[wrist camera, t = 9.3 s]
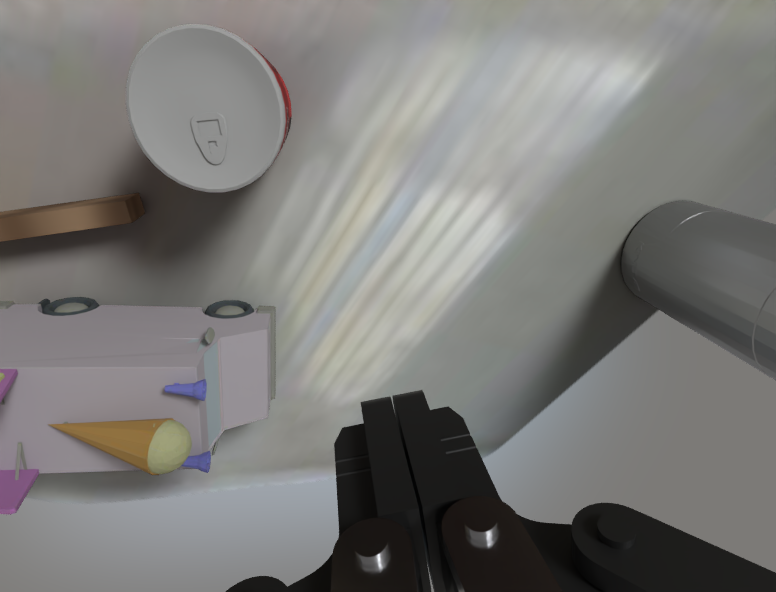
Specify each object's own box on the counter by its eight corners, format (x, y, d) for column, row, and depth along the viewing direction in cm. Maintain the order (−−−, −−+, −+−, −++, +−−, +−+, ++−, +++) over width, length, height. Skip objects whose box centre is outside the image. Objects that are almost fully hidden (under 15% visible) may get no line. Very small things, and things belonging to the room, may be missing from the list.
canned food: (213, 183, 37) (176, 216, 26) (155, 70, 33) (87, 58, 23) (310, 143, 36) (311, 161, 26) (261, 26, 33) (240, -5, 23)
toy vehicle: (276, 388, 43) (261, 524, 30) (28, 390, 40) (-119, 543, 26) (277, 289, 40) (260, 389, 26) (6, 282, 37) (-174, 392, 23)
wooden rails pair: (137, 189, 36) (106, 206, 30) (202, 400, 43) (186, 445, 37) (-71, 218, 35) (-143, 240, 29) (30, 430, 41) (-13, 481, 36)
